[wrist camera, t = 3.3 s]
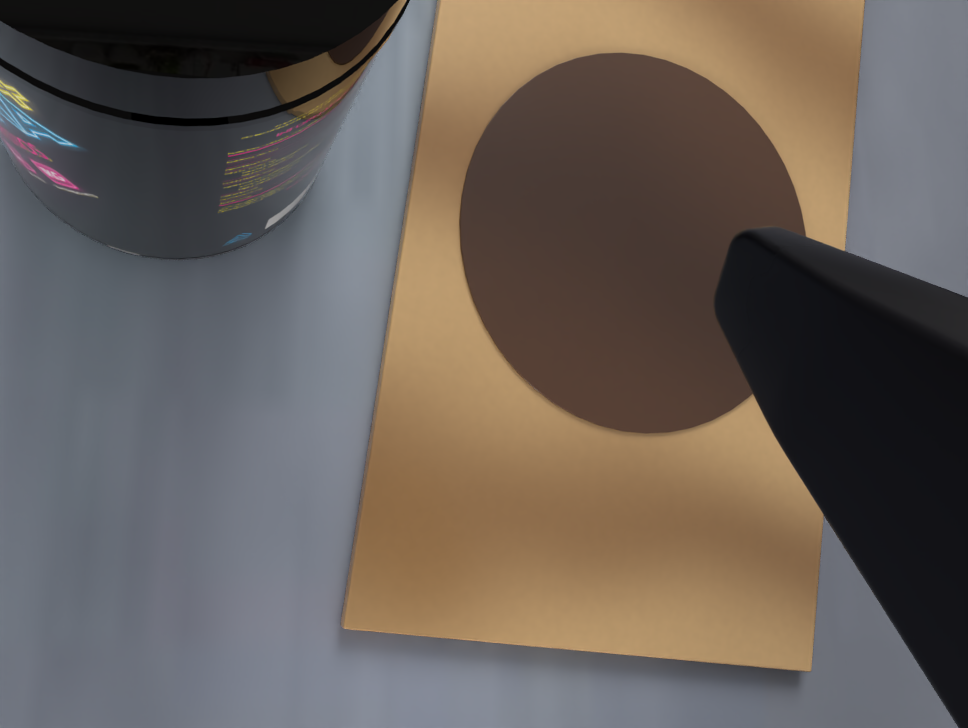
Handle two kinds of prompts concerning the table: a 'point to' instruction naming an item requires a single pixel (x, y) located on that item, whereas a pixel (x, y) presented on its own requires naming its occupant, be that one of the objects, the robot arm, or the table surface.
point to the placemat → (600, 330)
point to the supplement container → (180, 111)
